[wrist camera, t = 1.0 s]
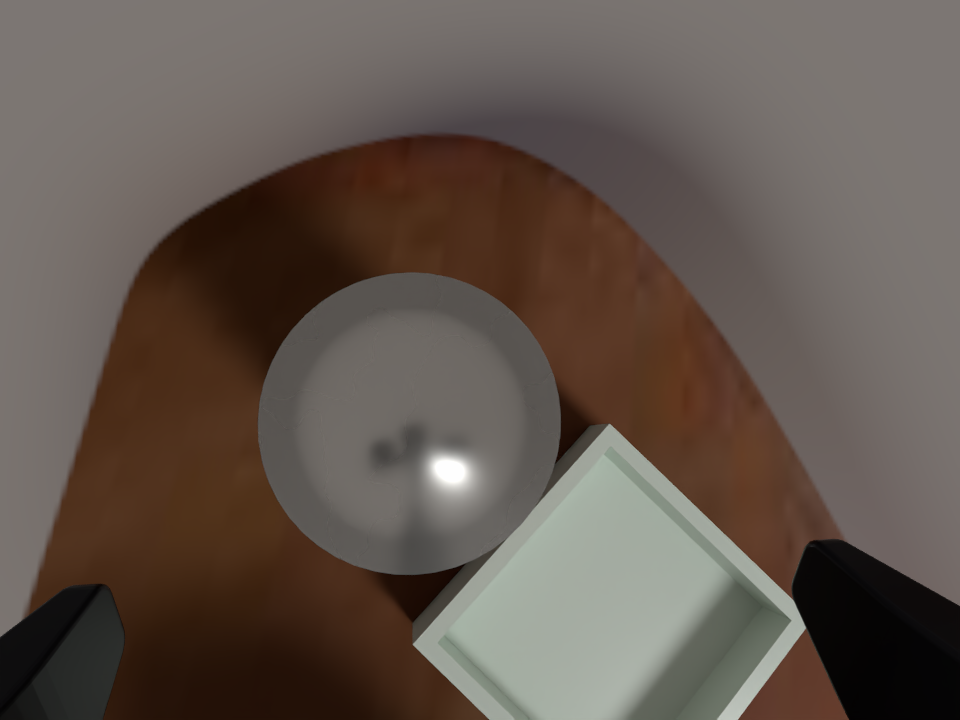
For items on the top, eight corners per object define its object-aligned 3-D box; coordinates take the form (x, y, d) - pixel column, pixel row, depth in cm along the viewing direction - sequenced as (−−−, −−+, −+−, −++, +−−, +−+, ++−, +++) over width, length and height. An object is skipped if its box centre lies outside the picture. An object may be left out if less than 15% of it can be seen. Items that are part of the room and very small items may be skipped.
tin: (413, 540, 24) (415, 647, 11) (303, 433, 24) (186, 422, 11) (517, 428, 25) (622, 414, 12) (411, 326, 25) (411, 211, 12)
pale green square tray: (609, 815, 23) (632, 859, 20) (412, 623, 23) (412, 644, 21) (772, 601, 25) (812, 619, 22) (590, 425, 25) (609, 423, 22)
